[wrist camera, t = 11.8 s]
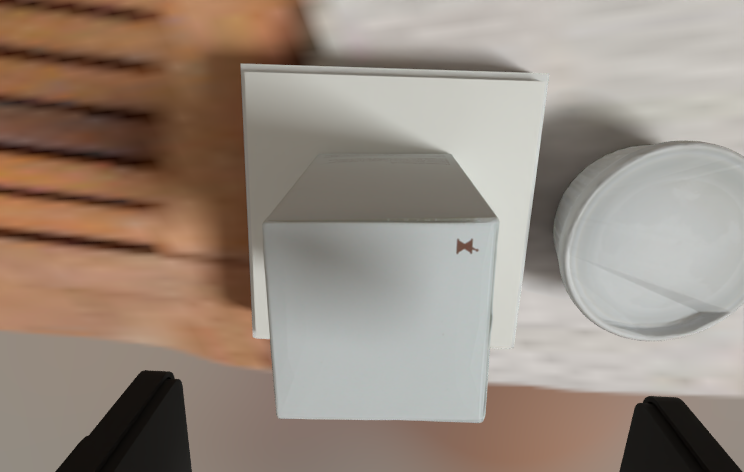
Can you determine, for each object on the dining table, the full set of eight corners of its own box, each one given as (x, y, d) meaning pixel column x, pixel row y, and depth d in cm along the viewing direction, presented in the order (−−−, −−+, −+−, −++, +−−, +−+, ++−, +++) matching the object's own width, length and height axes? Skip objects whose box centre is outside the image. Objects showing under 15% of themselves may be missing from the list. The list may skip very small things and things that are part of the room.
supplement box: (314, 150, 27) (256, 212, 15) (455, 151, 27) (509, 216, 15) (318, 279, 29) (270, 423, 17) (447, 281, 29) (490, 429, 17)
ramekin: (545, 316, 34) (573, 358, 29) (526, 152, 31) (553, 167, 26) (720, 286, 33) (779, 325, 28) (719, 113, 30) (786, 122, 25)
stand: (255, 64, 30) (236, 63, 26) (532, 73, 29) (554, 73, 26) (264, 314, 35) (249, 343, 31) (502, 323, 34) (516, 355, 30)
